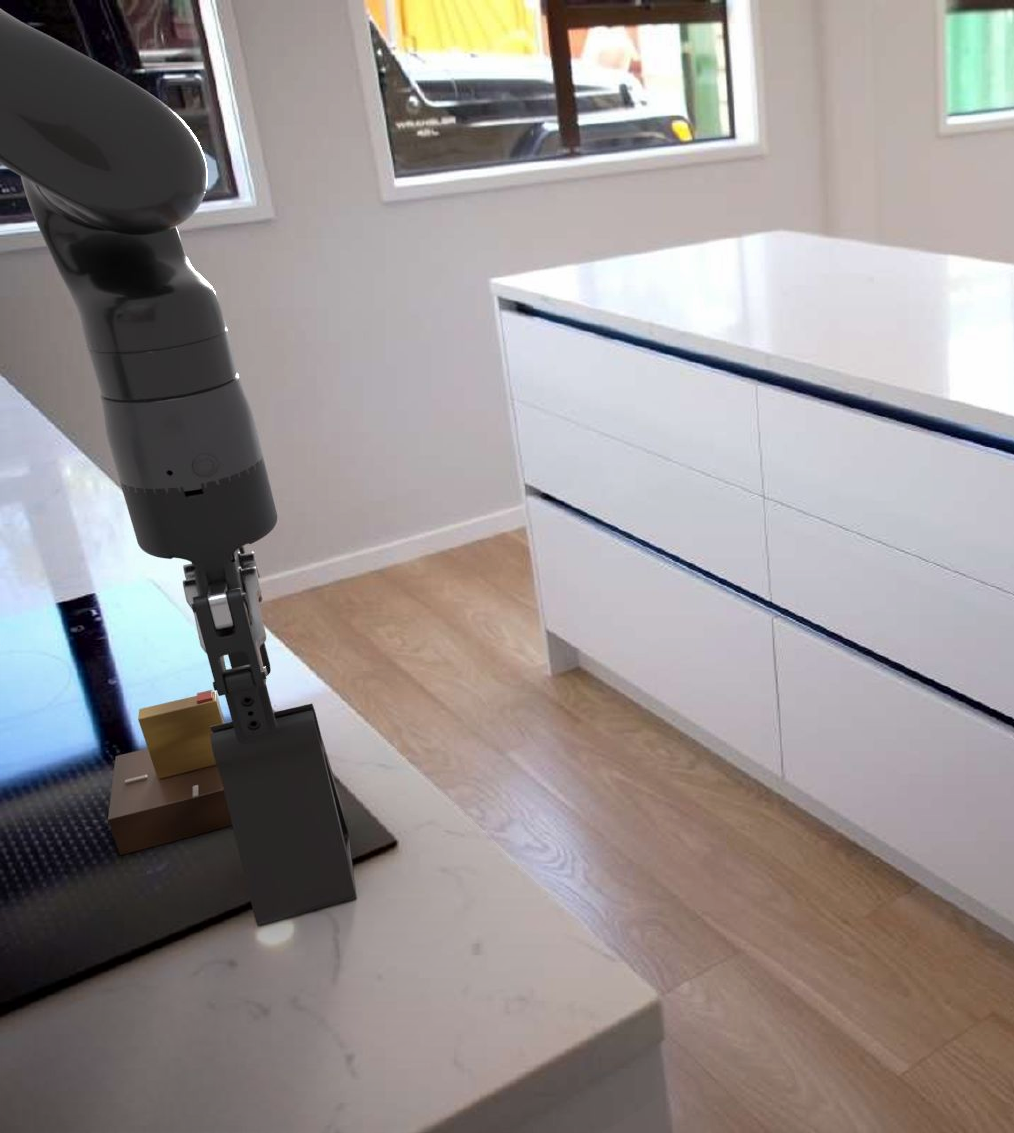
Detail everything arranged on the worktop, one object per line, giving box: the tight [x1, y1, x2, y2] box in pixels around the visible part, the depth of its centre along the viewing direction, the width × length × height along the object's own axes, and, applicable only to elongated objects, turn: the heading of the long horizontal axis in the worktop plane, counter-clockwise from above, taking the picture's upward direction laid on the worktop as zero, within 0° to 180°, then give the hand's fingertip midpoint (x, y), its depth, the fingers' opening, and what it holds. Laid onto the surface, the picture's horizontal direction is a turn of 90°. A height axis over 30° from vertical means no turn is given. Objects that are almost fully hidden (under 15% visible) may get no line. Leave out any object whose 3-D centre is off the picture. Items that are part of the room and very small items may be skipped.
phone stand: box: [210, 702, 358, 926], centre depth 83 cm, size 9×6×12 cm, turn 23°
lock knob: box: [137, 689, 226, 779], centre depth 92 cm, size 5×2×5 cm, turn 115°
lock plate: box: [107, 747, 233, 856], centre depth 94 cm, size 11×9×3 cm
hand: (256, 706), depth 80 cm, fingers open, 8 cm apart
